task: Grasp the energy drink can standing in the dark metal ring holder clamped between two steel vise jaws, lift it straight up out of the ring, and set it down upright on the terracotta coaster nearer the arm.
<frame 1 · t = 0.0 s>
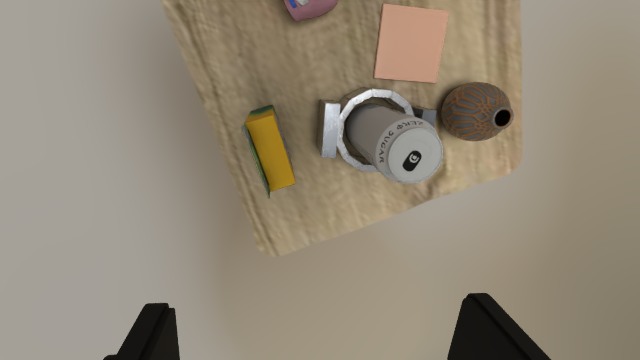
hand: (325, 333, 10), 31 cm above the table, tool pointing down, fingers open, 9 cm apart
coaster: (409, 45, 37), on the table
ring holder: (367, 126, 40), on the table
vase: (457, 108, 41), on the table
crayon box: (272, 135, 39), on the table
energy drink can: (366, 126, 40), resting in ring holder
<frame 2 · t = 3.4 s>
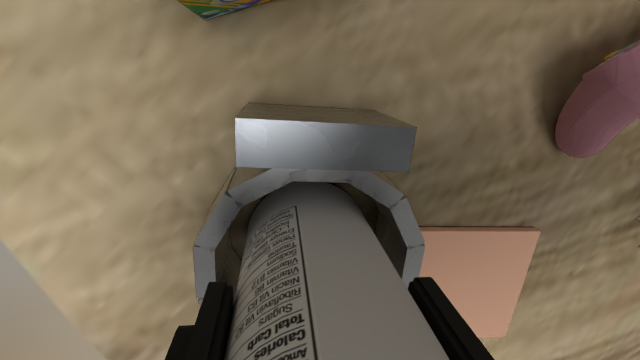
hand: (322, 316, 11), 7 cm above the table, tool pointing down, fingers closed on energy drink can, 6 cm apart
coaster: (459, 284, 20), on the table
ring holder: (305, 226, 17), on the table
energy drink can: (305, 225, 17), resting in ring holder, touching gripper
video game controller: (620, 69, 17), on the table
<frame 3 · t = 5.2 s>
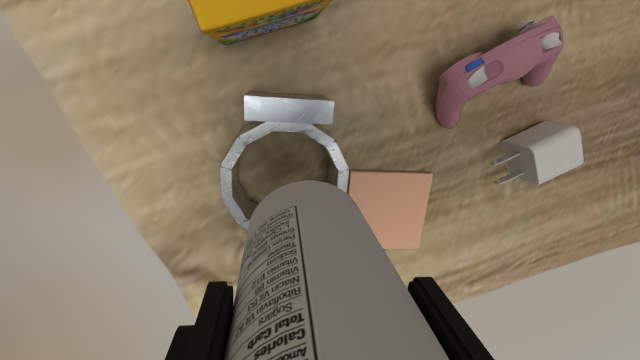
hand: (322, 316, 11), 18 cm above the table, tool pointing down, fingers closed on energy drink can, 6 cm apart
usb wall charger: (510, 152, 31), on the table
coaster: (385, 210, 30), on the table
ring holder: (283, 168, 27), on the table
crayon box: (264, 14, 23), on the table
energy drink can: (305, 224, 17), point 11 cm above the table, touching gripper
video game controller: (474, 75, 28), on the table
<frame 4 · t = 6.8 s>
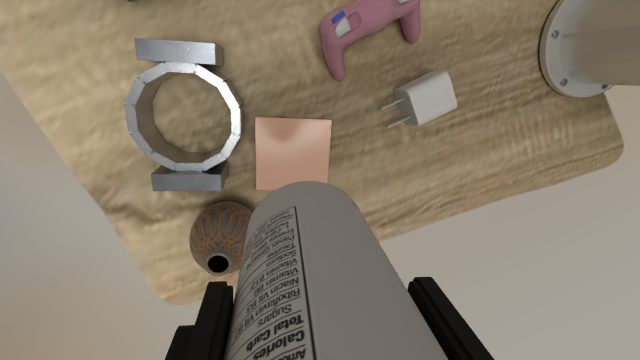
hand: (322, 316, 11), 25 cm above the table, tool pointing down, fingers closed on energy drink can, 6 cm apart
usb wall charger: (404, 102, 35), on the table
coaster: (292, 154, 34), on the table
ring holder: (195, 114, 31), on the table
vase: (230, 220, 36), on the table
energy drink can: (304, 225, 17), point 18 cm above the table, touching gripper
video game controller: (363, 34, 32), on the table
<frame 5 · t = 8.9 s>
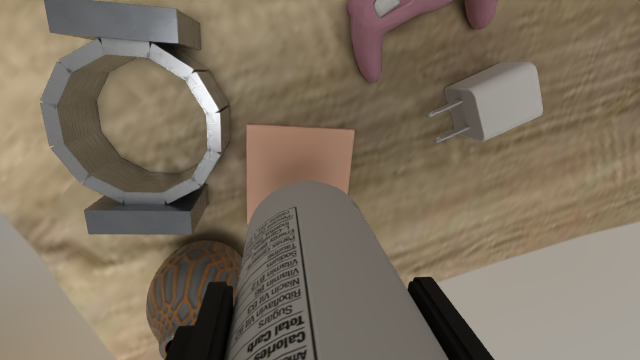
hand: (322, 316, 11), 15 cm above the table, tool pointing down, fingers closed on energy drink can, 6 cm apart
usb wall charger: (458, 105, 25), on the table
coaster: (298, 176, 25), on the table
ring holder: (160, 119, 22), on the table
vase: (212, 262, 26), on the table
energy drink can: (305, 225, 17), point 8 cm above the table, touching gripper
video game controller: (407, 16, 22), on the table
when the fingers open (8 cm above the table, at t = 10.6 s): energy drink can drops 1 cm, resting on coaster.
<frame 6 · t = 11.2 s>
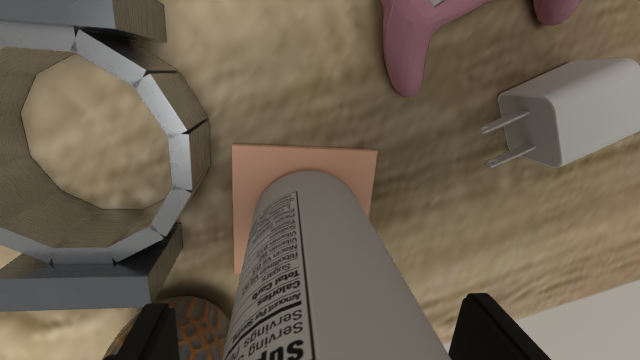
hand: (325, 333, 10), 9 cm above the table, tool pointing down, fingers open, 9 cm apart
usb wall charger: (513, 117, 19), on the table
coaster: (302, 211, 19), on the table
ring holder: (112, 138, 16), on the table
vase: (190, 319, 20), on the table
energy drink can: (306, 213, 18), resting on coaster
video game controller: (454, 7, 16), on the table
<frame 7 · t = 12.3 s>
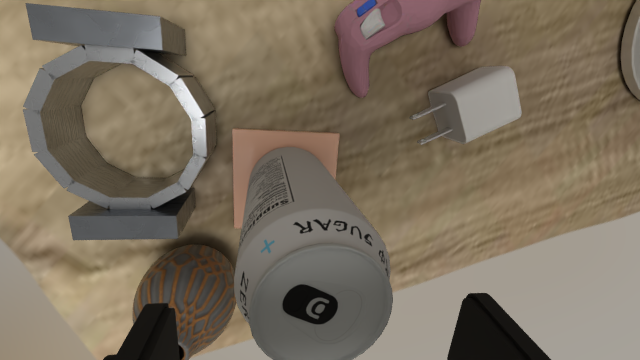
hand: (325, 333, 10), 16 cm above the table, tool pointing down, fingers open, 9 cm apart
usb wall charger: (441, 108, 25), on the table
coaster: (285, 180, 25), on the table
ring holder: (145, 124, 22), on the table
vase: (199, 266, 27), on the table
energy drink can: (288, 181, 25), resting on coaster
video game controller: (393, 33, 23), on the table
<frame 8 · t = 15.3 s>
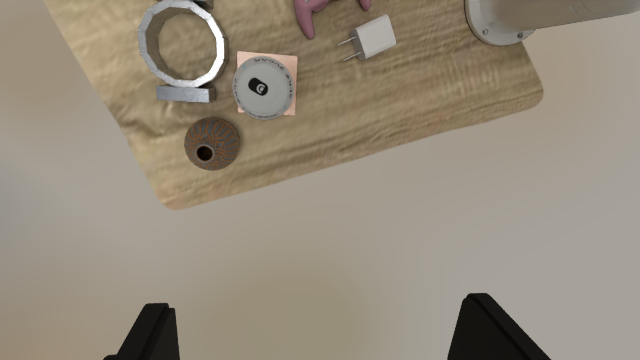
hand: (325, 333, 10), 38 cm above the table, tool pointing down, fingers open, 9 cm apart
usb wall charger: (359, 43, 44), on the table
coaster: (267, 84, 43), on the table
ring holder: (190, 47, 41), on the table
vase: (217, 138, 45), on the table
energy drink can: (268, 84, 43), resting on coaster
video game controller: (329, 3, 41), on the table
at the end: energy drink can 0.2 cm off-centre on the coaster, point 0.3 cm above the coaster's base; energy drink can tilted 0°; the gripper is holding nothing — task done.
